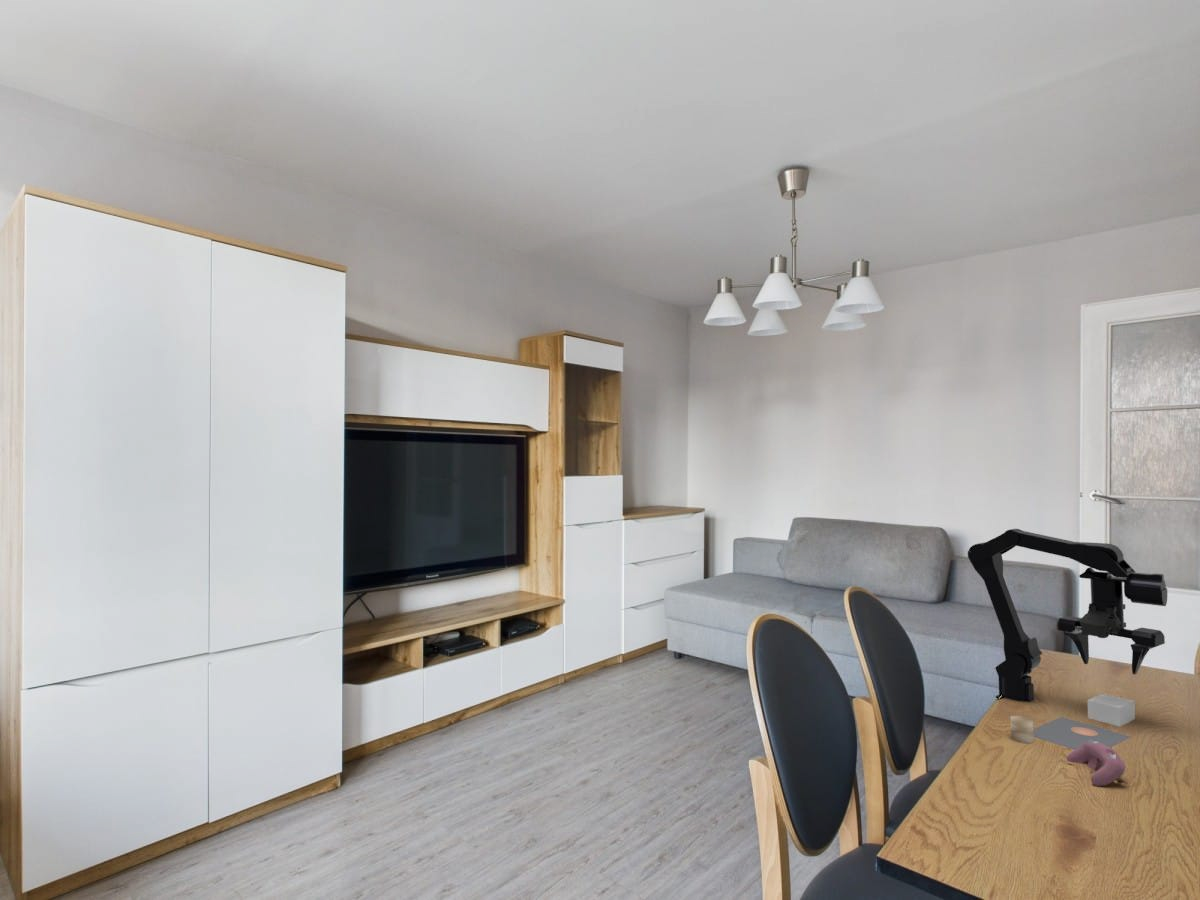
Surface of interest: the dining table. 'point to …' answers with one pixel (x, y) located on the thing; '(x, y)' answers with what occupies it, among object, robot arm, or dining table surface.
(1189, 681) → the dining table surface
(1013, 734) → the beige cylinder
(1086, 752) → the video game controller
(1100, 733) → the board
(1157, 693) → the dining table surface
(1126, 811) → the dining table surface
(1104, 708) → the white rectangular block
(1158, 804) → the dining table surface
